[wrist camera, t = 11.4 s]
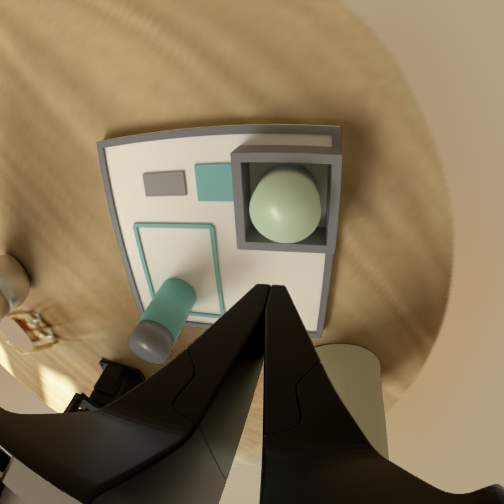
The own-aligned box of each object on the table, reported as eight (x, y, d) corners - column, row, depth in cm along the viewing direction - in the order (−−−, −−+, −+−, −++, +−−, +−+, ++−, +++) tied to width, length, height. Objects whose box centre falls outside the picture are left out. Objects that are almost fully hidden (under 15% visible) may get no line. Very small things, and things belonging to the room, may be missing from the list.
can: (379, 391, 27) (386, 492, 17) (296, 400, 29) (284, 499, 19) (380, 335, 23) (398, 465, 13) (277, 349, 25) (256, 475, 15)
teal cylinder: (199, 309, 23) (172, 367, 18) (166, 305, 24) (135, 359, 19) (193, 279, 22) (161, 337, 17) (158, 276, 22) (121, 329, 17)
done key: (317, 221, 18) (318, 244, 15) (259, 219, 18) (250, 241, 16) (319, 163, 16) (322, 178, 13) (257, 162, 16) (247, 176, 14)
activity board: (321, 331, 23) (321, 358, 21) (145, 314, 26) (131, 335, 23) (339, 126, 15) (347, 132, 13) (102, 140, 18) (76, 149, 15)
